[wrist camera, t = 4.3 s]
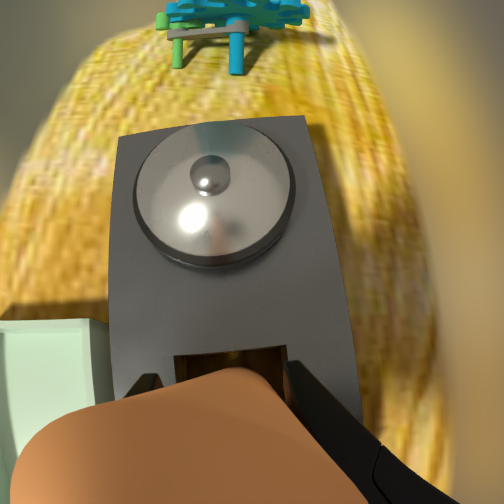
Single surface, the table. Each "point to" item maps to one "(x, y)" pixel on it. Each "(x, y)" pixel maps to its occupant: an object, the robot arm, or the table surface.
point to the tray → (48, 379)
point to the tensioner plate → (235, 293)
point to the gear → (226, 23)
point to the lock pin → (182, 450)
